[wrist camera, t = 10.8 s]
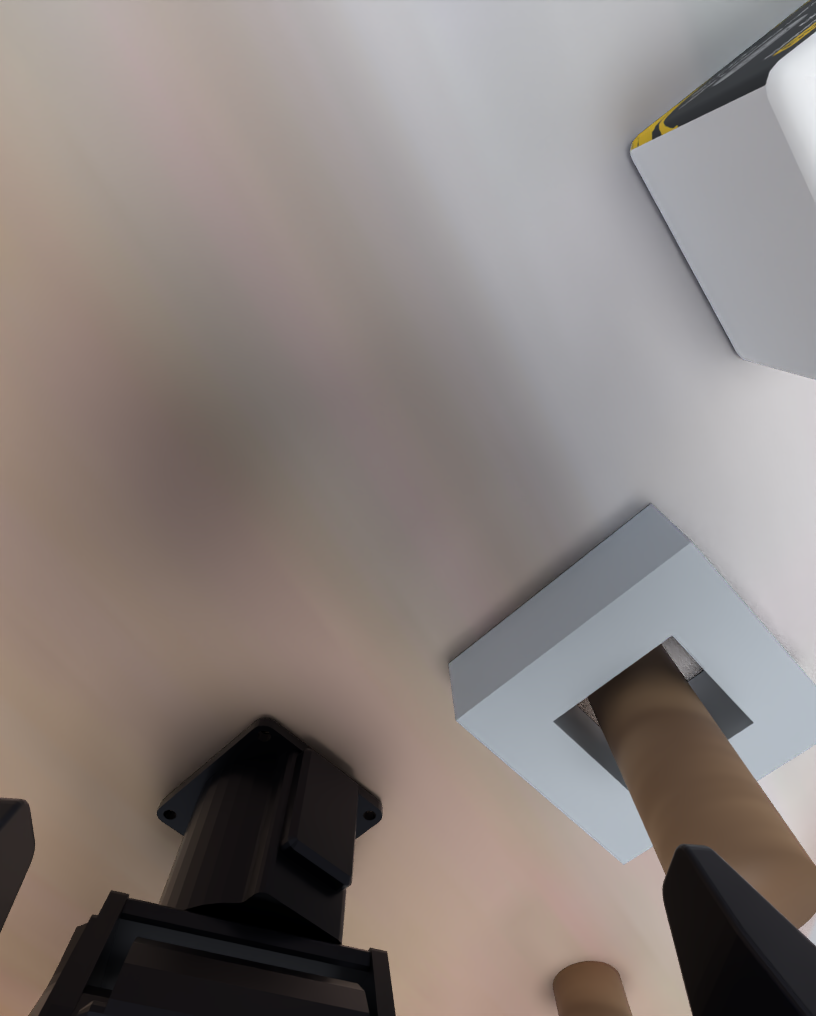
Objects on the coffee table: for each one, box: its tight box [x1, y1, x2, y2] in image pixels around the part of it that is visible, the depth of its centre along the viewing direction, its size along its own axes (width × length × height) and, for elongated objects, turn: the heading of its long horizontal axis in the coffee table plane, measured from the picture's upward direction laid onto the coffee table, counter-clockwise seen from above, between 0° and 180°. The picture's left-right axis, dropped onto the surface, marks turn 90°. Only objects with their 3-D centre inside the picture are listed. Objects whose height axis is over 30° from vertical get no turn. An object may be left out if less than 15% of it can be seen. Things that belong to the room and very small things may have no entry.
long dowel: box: [587, 644, 816, 929], centre depth 18 cm, size 3×3×9 cm
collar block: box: [448, 503, 816, 865], centre depth 21 cm, size 9×9×3 cm
